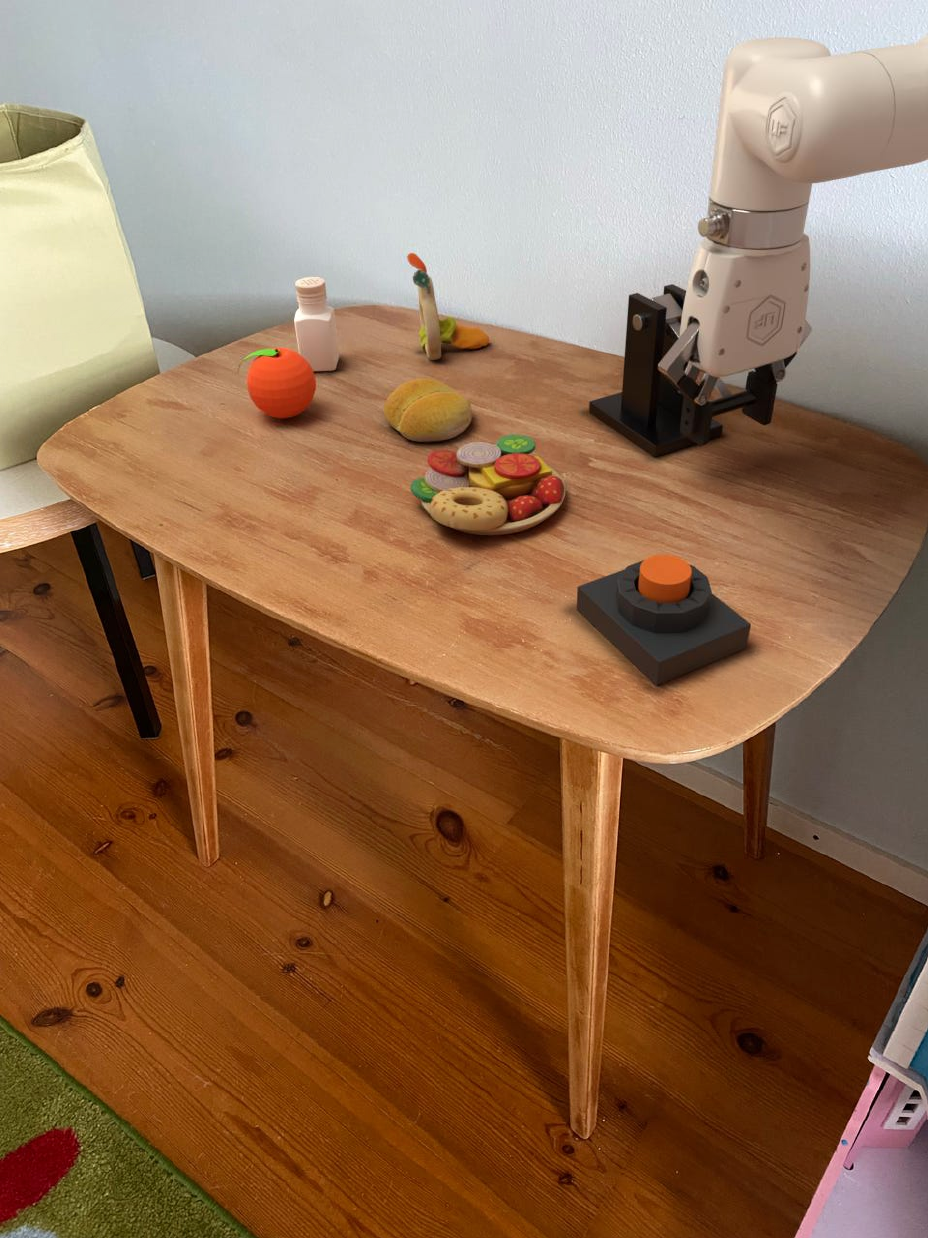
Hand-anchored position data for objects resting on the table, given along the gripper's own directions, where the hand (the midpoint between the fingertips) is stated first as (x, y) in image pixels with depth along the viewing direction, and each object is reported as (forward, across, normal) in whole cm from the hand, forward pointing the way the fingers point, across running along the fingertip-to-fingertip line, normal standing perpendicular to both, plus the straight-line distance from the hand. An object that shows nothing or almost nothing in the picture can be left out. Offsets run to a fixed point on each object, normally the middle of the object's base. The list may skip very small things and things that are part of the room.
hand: (725, 427), depth 88 cm
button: (0, -19, -16) cm, 25 cm away
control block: (+4, -19, -16) cm, 25 cm away
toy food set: (+4, -21, +6) cm, 22 cm away
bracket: (+4, 0, +10) cm, 11 cm away
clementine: (+4, -31, +32) cm, 45 cm away
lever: (-4, 0, +6) cm, 7 cm away
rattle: (+4, -9, +36) cm, 37 cm away
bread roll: (+4, -19, +22) cm, 29 cm away
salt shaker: (+4, -23, +41) cm, 47 cm away
